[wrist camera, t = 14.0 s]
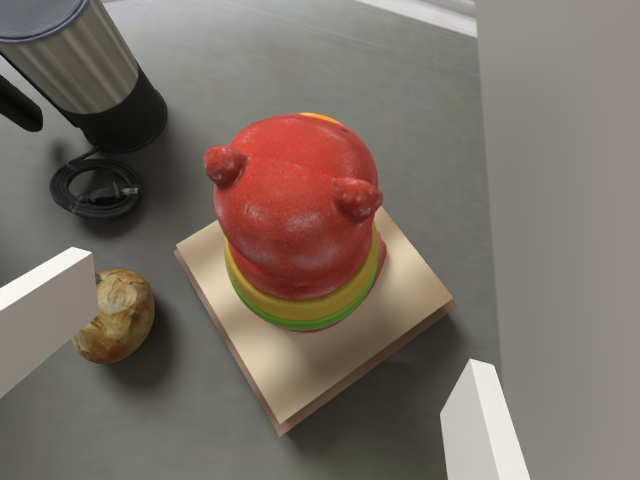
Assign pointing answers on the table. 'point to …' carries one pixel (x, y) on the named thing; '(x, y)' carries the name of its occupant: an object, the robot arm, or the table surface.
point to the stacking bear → (298, 219)
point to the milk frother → (80, 92)
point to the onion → (117, 317)
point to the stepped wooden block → (324, 346)
